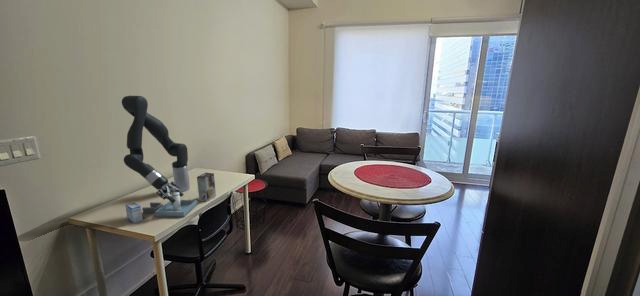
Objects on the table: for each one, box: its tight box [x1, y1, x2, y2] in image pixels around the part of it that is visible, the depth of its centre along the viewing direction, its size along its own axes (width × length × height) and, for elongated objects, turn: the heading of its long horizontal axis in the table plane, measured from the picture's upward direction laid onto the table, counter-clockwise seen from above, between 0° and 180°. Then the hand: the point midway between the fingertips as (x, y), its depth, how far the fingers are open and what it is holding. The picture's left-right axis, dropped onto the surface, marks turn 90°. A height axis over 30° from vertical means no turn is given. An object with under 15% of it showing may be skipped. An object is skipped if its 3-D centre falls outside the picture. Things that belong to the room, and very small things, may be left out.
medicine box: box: [125, 202, 143, 224], centre depth 146 cm, size 8×4×9 cm, turn 56°
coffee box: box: [196, 172, 217, 202], centre depth 173 cm, size 9×6×16 cm
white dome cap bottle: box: [171, 192, 181, 211], centre depth 156 cm, size 4×4×10 cm
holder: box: [141, 201, 164, 214], centre depth 158 cm, size 8×7×3 cm
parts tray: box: [154, 199, 198, 218], centre depth 158 cm, size 16×16×3 cm
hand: (178, 198), depth 156 cm, fingers open, 8 cm apart
